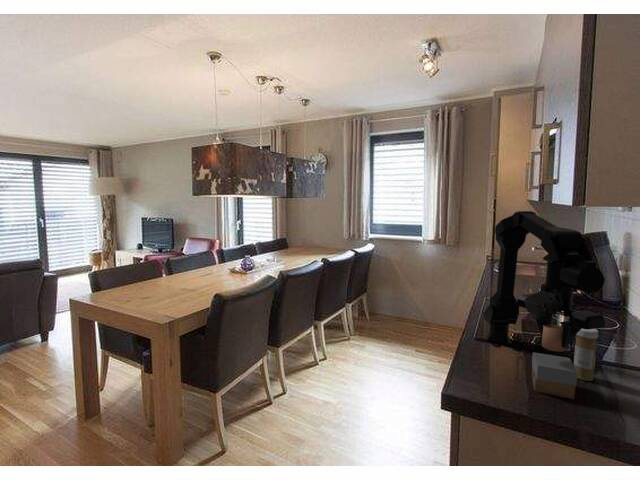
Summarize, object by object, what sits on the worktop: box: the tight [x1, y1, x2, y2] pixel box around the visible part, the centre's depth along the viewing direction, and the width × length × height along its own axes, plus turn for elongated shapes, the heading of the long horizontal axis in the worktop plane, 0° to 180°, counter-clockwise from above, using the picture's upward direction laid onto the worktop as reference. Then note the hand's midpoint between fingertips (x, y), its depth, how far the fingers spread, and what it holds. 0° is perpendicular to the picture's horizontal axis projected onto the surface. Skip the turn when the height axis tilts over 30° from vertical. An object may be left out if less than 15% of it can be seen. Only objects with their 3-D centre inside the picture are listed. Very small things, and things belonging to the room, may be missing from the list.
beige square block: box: [531, 367, 576, 400], centre depth 88 cm, size 8×8×4 cm
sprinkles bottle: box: [573, 328, 599, 382], centre depth 92 cm, size 5×5×13 cm
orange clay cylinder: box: [541, 324, 567, 353], centre depth 87 cm, size 5×5×5 cm
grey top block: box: [531, 352, 578, 387], centre depth 88 cm, size 8×8×4 cm
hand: (553, 343), depth 88 cm, fingers closed on orange clay cylinder, 5 cm apart
